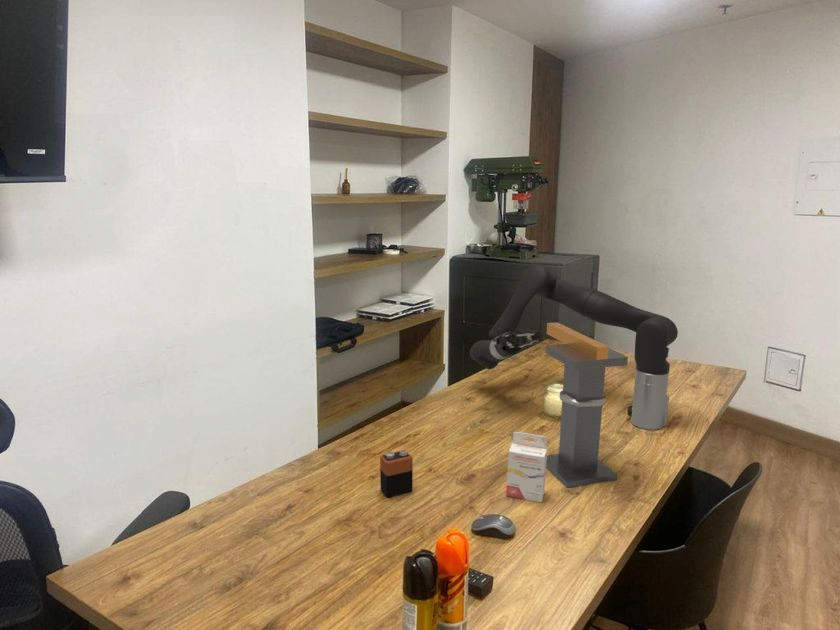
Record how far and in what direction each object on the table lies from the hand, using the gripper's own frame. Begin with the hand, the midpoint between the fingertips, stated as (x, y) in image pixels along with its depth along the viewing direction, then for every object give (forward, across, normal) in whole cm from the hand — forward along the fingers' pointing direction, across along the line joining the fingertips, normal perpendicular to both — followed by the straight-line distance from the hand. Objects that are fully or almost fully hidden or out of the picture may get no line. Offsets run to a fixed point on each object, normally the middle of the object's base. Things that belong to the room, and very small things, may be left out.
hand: (528, 335), depth 172 cm
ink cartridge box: (+19, -19, +42) cm, 50 cm away
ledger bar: (+24, -1, +8) cm, 25 cm away
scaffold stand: (+14, 0, +38) cm, 41 cm away
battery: (+9, -47, +37) cm, 61 cm away
